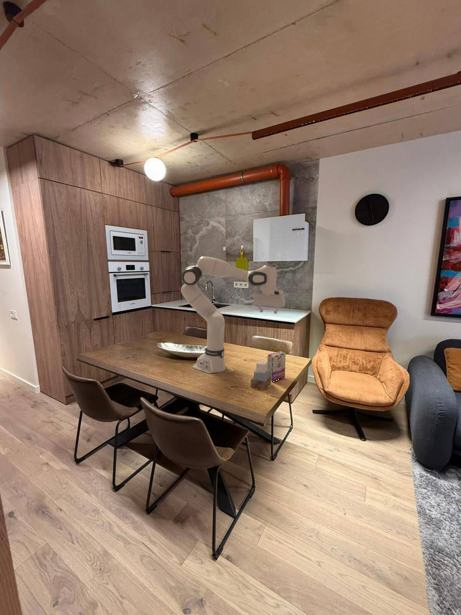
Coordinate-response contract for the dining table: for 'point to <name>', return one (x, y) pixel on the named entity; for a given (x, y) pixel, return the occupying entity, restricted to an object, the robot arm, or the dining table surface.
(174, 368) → the dining table surface
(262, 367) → the cream cube
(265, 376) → the grey square block
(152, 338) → the dining table surface
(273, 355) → the candy bar box
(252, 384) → the tan wooden block
